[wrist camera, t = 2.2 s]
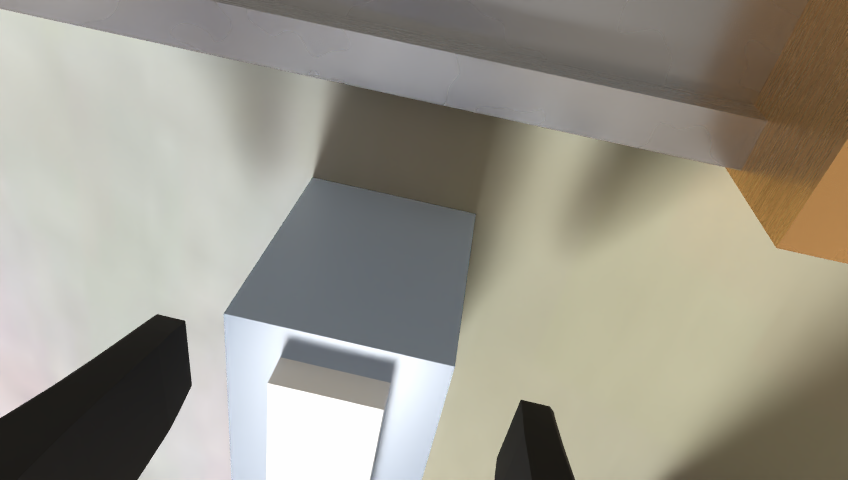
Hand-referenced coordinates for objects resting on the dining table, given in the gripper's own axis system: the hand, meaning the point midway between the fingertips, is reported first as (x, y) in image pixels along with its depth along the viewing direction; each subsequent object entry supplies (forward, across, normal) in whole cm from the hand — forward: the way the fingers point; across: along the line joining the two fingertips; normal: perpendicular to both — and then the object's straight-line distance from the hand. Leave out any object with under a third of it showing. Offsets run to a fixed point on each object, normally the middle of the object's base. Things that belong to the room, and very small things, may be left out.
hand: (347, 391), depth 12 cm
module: (+4, 0, 0) cm, 4 cm away
